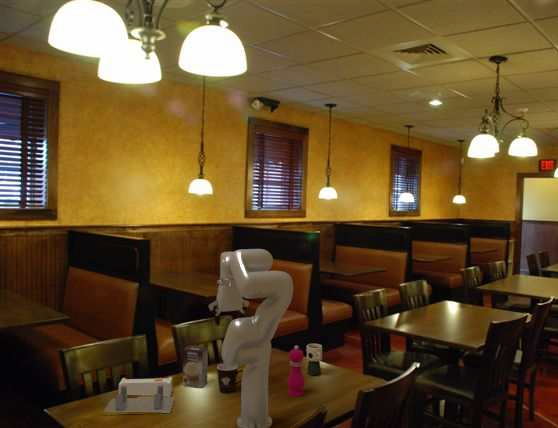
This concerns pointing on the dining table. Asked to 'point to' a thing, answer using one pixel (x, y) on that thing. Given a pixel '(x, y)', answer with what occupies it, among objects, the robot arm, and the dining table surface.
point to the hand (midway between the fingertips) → (228, 323)
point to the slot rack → (140, 403)
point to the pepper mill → (296, 373)
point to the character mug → (314, 358)
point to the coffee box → (195, 366)
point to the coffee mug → (227, 378)
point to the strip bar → (146, 386)
